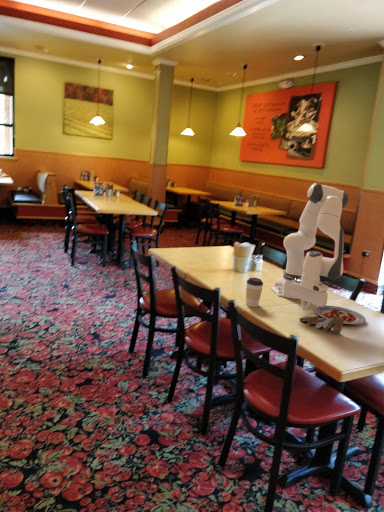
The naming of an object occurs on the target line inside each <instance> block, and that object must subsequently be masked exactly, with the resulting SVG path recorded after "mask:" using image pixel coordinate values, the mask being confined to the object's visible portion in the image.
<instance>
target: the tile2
mask: <svg viewBox="0 0 384 512" xmlns="http://www.w3.org/2000/svg"><path fill="white" fill-rule="evenodd" d="M325 320H328V319H327V318H323V317H321V318H319V319H317V320H313V321H306V322H307V325H308V326H309V325H314V324H315V325H316V324H319V323H321V322H323V321H325Z"/></svg>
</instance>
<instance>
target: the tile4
mask: <svg viewBox="0 0 384 512" xmlns="http://www.w3.org/2000/svg"><path fill="white" fill-rule="evenodd" d="M338 318H339V317H337V318H334V319H332V320H331V321H330V322H329V323H328V324H327V325H325V326H324V327H323V331H324V332H329V331H331V330H333V328H334V324H335V321H336V319H338Z"/></svg>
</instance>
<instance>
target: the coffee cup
mask: <svg viewBox="0 0 384 512" xmlns="http://www.w3.org/2000/svg"><path fill="white" fill-rule="evenodd" d="M263 285H264V282H263V280H262V279H260V278H258V277H249V278H248V279H247V280H246V288H245V290H246V291H245V305H246V306H248V307H250V308H251V307H252V308H257V307H259V304H260V299H261V295H262V290H263Z"/></svg>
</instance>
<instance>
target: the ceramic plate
mask: <svg viewBox="0 0 384 512" xmlns="http://www.w3.org/2000/svg"><path fill="white" fill-rule="evenodd" d="M314 312H315V313H316V314H317V316H320V317H321V318H327V320H328V319H331V318H337V317H339V318H341V317H342V318H344V322H343V325H344V324H345V325H361V324H363V323H365V322H366V317H365V316H364V315H363V314H361V313H360V312H358V311H355V310H352V309H349V308H345V307H342V306H337V305H325V306H324V307H320V306H317V307H315V309H314Z"/></svg>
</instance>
